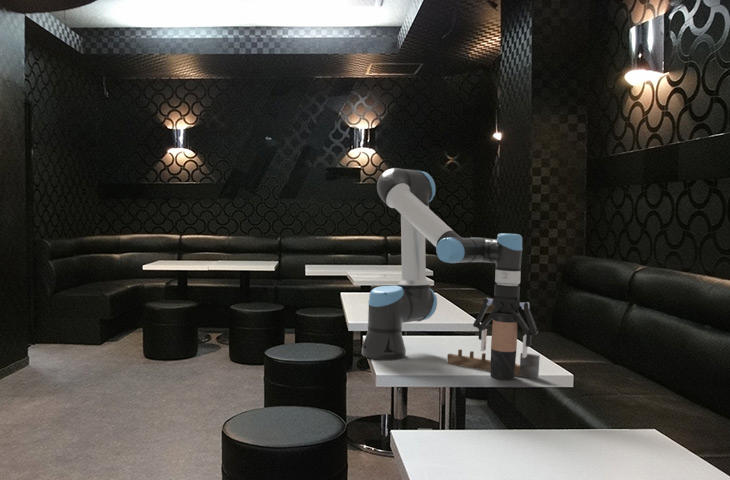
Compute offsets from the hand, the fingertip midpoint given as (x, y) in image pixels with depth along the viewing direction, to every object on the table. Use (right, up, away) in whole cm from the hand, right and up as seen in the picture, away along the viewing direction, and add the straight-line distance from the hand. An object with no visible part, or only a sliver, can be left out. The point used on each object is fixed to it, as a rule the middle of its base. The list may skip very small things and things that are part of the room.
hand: (503, 353), depth 185 cm
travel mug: (0, -7, 0) cm, 7 cm away
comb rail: (-2, -7, +8) cm, 11 cm away
